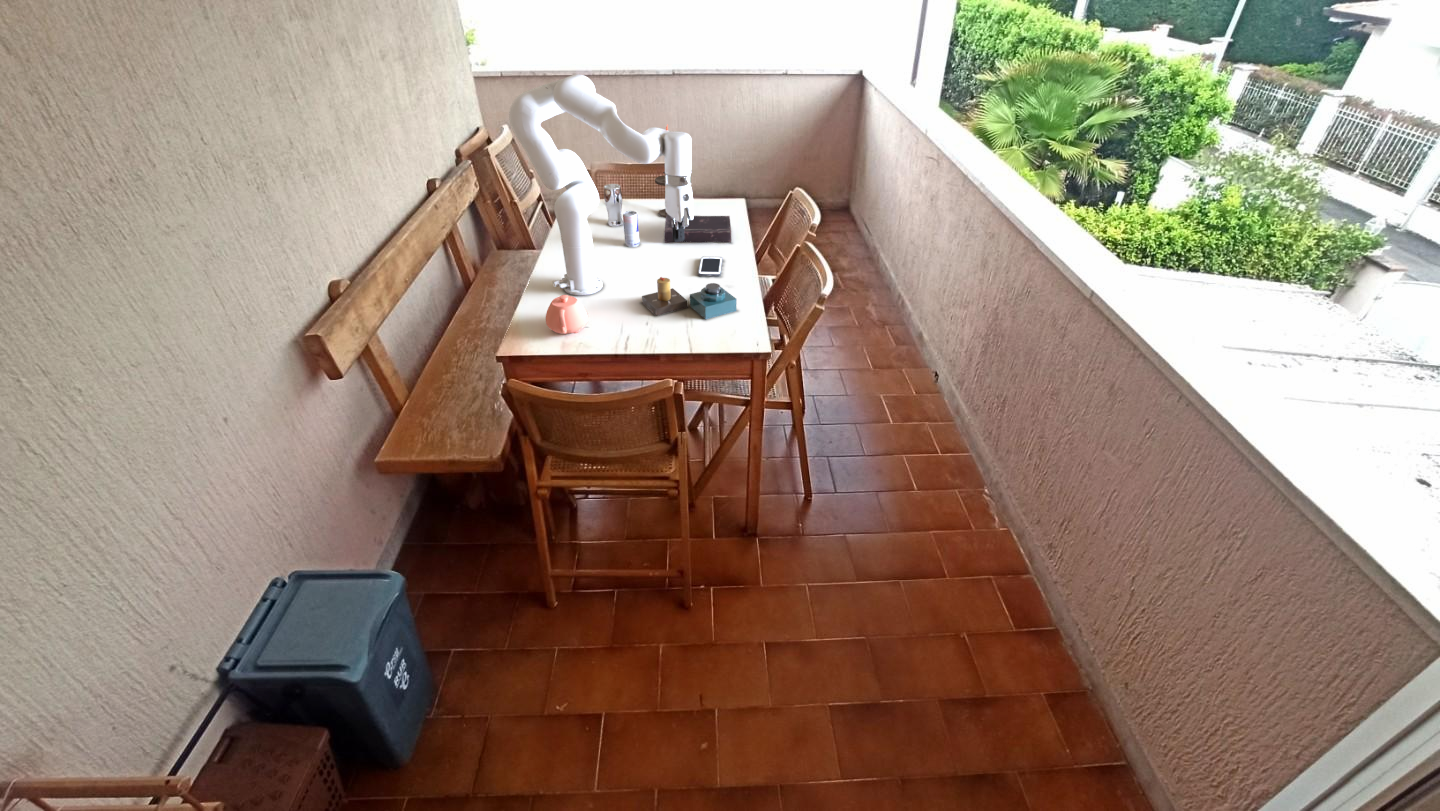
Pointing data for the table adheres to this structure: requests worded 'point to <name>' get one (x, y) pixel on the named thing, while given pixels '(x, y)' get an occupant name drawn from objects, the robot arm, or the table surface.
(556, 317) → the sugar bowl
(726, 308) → the teal push button box
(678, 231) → the robot arm
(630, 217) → the energy drink
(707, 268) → the cell phone
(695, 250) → the table surface
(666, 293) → the knob
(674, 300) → the knob panel
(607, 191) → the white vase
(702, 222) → the diary
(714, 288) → the dark grey push button
